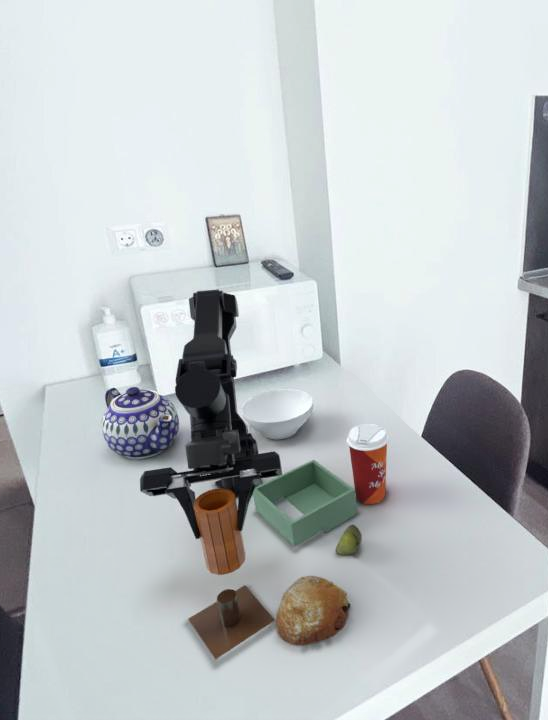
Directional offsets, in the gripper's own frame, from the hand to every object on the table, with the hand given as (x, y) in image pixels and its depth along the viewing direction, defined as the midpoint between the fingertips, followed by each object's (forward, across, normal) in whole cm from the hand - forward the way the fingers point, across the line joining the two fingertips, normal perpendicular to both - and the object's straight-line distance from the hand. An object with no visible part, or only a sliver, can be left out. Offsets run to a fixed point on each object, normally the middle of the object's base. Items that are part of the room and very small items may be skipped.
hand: (219, 534), depth 76 cm
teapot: (-26, -20, +45) cm, 56 cm away
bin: (-3, +12, +22) cm, 25 cm away
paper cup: (-4, +25, +24) cm, 35 cm away
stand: (+12, 0, +7) cm, 14 cm away
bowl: (-25, +9, +44) cm, 52 cm away
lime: (+5, +18, +14) cm, 24 cm away
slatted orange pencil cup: (+3, 0, +5) cm, 6 cm away
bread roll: (+14, +12, +5) cm, 19 cm away
